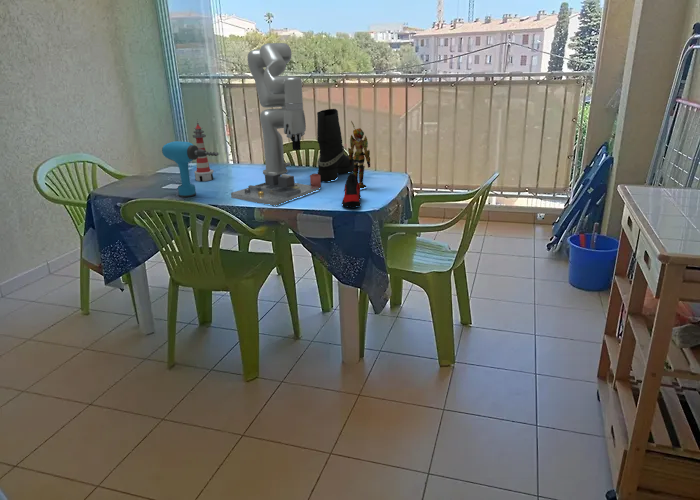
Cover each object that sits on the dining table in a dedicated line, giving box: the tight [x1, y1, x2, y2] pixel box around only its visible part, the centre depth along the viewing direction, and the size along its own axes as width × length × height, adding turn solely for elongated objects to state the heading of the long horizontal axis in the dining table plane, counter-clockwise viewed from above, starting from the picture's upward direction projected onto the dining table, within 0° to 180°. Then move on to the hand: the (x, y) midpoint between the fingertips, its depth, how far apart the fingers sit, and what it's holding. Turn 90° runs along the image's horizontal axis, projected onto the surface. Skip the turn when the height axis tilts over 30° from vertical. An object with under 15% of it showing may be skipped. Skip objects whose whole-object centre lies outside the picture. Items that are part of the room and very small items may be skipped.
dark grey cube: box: [264, 172, 282, 185], centre depth 230 cm, size 5×5×5 cm
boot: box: [316, 108, 354, 181], centre depth 248 cm, size 12×35×33 cm, turn 156°
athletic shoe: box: [341, 172, 362, 208], centre depth 205 cm, size 8×20×12 cm, turn 178°
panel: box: [230, 182, 320, 207], centre depth 222 cm, size 28×26×4 cm
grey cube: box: [278, 173, 295, 187], centre depth 226 cm, size 5×5×5 cm
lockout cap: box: [309, 173, 322, 188], centre depth 229 cm, size 5×5×7 cm
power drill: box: [161, 140, 219, 198], centre depth 217 cm, size 28×9×23 cm, turn 68°
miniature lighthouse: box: [192, 120, 215, 182], centre depth 245 cm, size 9×9×30 cm
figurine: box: [347, 120, 371, 188], centre depth 223 cm, size 11×7×30 cm
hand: (296, 149), depth 227 cm, fingers closed
